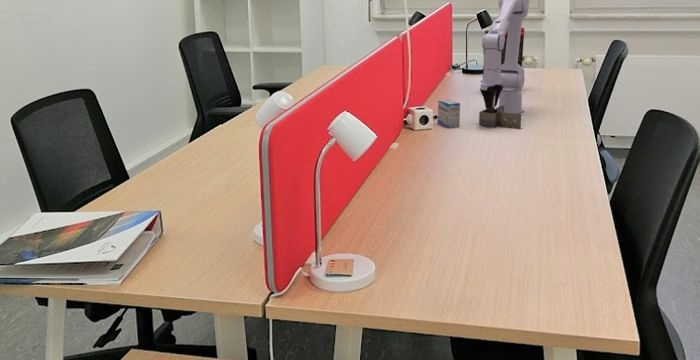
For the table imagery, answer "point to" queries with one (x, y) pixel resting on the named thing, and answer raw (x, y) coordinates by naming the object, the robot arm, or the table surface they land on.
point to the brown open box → (502, 118)
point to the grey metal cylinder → (491, 110)
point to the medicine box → (448, 113)
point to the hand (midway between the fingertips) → (491, 107)
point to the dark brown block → (489, 122)
